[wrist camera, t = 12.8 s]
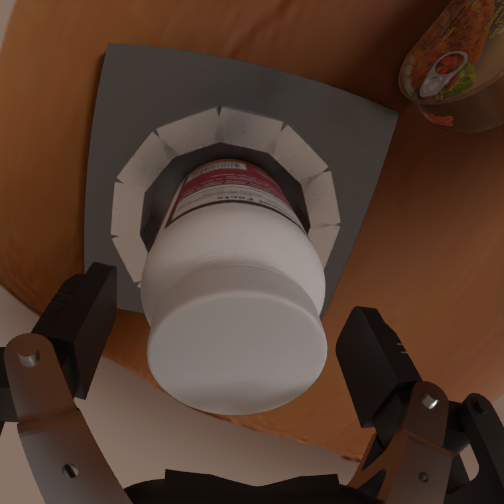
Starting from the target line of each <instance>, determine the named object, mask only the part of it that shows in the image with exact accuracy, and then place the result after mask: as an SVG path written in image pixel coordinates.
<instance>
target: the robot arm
mask: <svg viewBox="0 0 504 504" xmlns="http://www.w3.org/2000/svg"><path fill="white" fill-rule="evenodd" d="M116 311H117V267H116V266H114V265H109V264H104V263H99V262H93V263H92V264H91V266H90V267H89V269H88V270H87V272H86V273H85V275H80V274H75V275H74V276H72V277H71V278H69V279H68V280H66V281H65V282H64V283H63V284H62V286H61V287H60V289H59V290H58V293H57V294H56V295H55V296H54V297H53V299H52V302H50V303H49V305H48V306H47V308H46V309H45V311H44V313H43V314H42V316H41V317H40V319H39V320H38V322H37V323H36V325H35V327H34V328H33V330H32V332H31V333H26V334H22V335H19V336H16V337H15V338H13V339H12V340H11V341H10V342H9V343H8V344H7V345H6V347H0V435H1V432H2V429H3V426H4V423H5V421H6V422H19V423H18V424H17V429H18V433H19V437H20V440H21V443H22V446H23V449H24V452H25V455H26V457H27V460H28V463H29V466H30V468H31V471H32V473H33V476H34V478H35V481H36V483H37V485H38V488H39V490H40V492H41V495H42V497H43V499H44V501H45V503H46V504H504V427H503V425H502V423H501V421H500V419H499V417H498V415H497V413H496V411H495V410H494V408H493V406H492V404H491V403H490V402H489V401H488V400H487V399H486V398H485V397H484V396H482V395H480V394H477V393H471V394H469V395H468V396H467V398H466V399H465V400H464V401H463V402H462V403H458V402H454V401H449V400H448V398H447V396H446V394H445V393H444V391H443V390H442V389H441V388H440V387H438V386H437V385H435V384H433V383H431V382H428V381H422V379H421V377H420V375H419V373H418V371H417V369H416V368H415V366H414V364H413V362H412V360H411V359H410V357H409V355H408V354H406V350H405V348H404V346H403V345H401V344H402V343H401V341H400V339H399V338H398V336H397V334H396V333H395V332H394V331H393V330H392V329H391V328H390V327H389V326H388V325H387V324H386V323H385V322H384V320H383V319H382V317H381V315H380V313H379V312H378V310H377V309H375V308H368V307H360V306H356V307H354V308H353V310H352V311H351V313H350V315H349V317H348V319H347V321H346V323H345V325H344V327H343V329H342V331H341V333H340V335H339V337H338V340H337V343H336V356H337V359H338V361H339V364H340V367H341V370H342V373H343V375H344V378H345V381H346V384H347V387H348V390H349V393H350V396H351V398H352V401H353V404H354V407H355V410H356V413H357V416H358V419H359V422H360V425H361V428H369V427H375V429H376V432H375V433H374V434H373V435H372V437H371V439H370V442H369V444H368V446H367V448H366V451H365V453H364V455H363V457H362V459H361V462H360V464H359V466H358V468H357V470H356V472H355V474H354V476H353V478H352V479H351V481H350V482H349V483H348V484H347V485H346V486H345V485H341V484H339V480H338V475H337V474H329V475H316V476H299V477H296V478H292V479H288V480H285V481H281V482H277V483H273V484H269V485H264V486H257V487H256V486H251V485H247V484H243V483H239V482H235V481H232V480H228V479H224V478H220V477H217V476H214V475H211V474H200V473H191V472H182V471H175V470H168V469H165V479H156V480H150V481H144V482H141V483H137V484H134V485H131V486H129V487H126V488H124V489H123V488H122V487H121V485H120V483H119V482H118V480H117V478H116V477H115V475H114V473H113V472H112V470H111V468H110V466H109V465H108V463H107V461H106V459H105V458H104V456H103V454H102V452H101V451H100V448H99V447H98V445H97V443H96V441H95V439H94V437H93V435H92V433H91V431H90V429H89V427H88V425H87V423H86V421H85V419H84V417H83V415H82V413H81V411H80V409H79V408H77V406H76V404H75V402H74V400H73V399H74V397H77V398H80V399H84V400H86V397H87V393H88V391H89V388H90V385H91V382H92V379H93V377H94V374H95V371H96V368H97V365H98V363H99V360H100V357H101V355H102V352H103V349H104V347H105V344H106V342H107V339H108V336H109V334H110V331H111V329H112V326H113V324H114V321H115V317H116ZM469 444H470V445H471V447H472V449H473V452H474V454H475V456H476V459H477V461H478V464H479V472H478V475H477V476H476V478H474V479H473V480H471V481H470V480H469V478H468V475H467V472H466V470H465V467H464V465H463V462H462V460H461V457H460V455H459V453H460V452H461V451H462V450H463V449H464V448H466V447H467V446H468V445H469Z"/></svg>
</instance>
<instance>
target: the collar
mask: <svg viewBox="0 0 504 504" xmlns="http://www.w3.org/2000/svg"><path fill="white" fill-rule="evenodd" d="M398 116H399V112H396V111H394V110H392V109H389V108H387V107H385V106H382V105H380V104H378V103H375V102H373V101H370V100H368V99H365V98H363V97H360V96H357V95H355V94H352V93H349V92H347V91H344V90H341V89H338V88H335V87H332V86H330V85H327V84H324V83H321V82H317V81H314V80H311V79H308V78H305V77H301V76H298V75H295V74H291V73H288V72H284V71H280V70H277V69H273V68H269V67H265V66H261V65H257V64H253V63H248V62H244V61H240V60H235V59H230V58H225V57H220V56H215V55H209V54H203V53H197V52H191V51H184V50H177V49H169V48H161V47H152V46H141V45H128V44H110V43H108V46H107V50H106V54H105V58H104V63H103V67H102V72H101V77H100V82H99V87H98V93H97V98H96V104H95V110H94V117H93V124H92V131H91V139H90V147H89V157H88V167H87V180H86V195H85V218H84V271H85V273H86V272H87V270H88V269H89V267H90V266H91V264H92V263H93V262H99V263H104V264H109V265H114V266H116V267H117V308H119V309H124V310H128V311H133V312H138V313H143V314H145V313H144V310H143V306H142V301H141V277H142V272H143V268H144V265H145V261H146V258H147V255H148V253H149V250H150V248H151V245H152V243H153V241H154V238H155V236H156V233H157V231H158V229H159V227H160V224H161V222H162V220H163V217H164V215H165V213H166V210H167V208H168V206H169V204H170V201H171V199H172V197H173V195H174V193H175V191H176V189H177V188H178V186H179V185H180V183H181V182H182V181H183V180H184V178H185V177H186V176H187V175H188V174H189V173H191V172H192V171H193V170H195V169H196V168H198V167H199V166H201V165H203V164H205V163H208V162H211V161H215V160H220V159H237V160H243V161H246V162H249V163H252V164H254V165H256V166H258V167H260V168H261V169H263V170H264V171H266V172H267V173H268V174H269V175H270V176H271V177H272V178H273V179H274V180H275V181H276V183H277V184H278V185H279V187H280V188H281V190H282V192H283V194H284V195H285V197H286V199H287V200H288V202H289V204H290V205H291V207H292V209H293V211H294V212H295V214H296V216H297V218H298V219H299V221H300V223H301V225H302V226H303V228H304V230H305V232H306V233H307V235H308V237H309V239H310V240H311V242H312V244H313V246H314V248H315V250H316V252H317V254H318V256H319V259H320V261H321V264H322V267H323V271H324V276H325V298H324V303H323V307H322V310H321V313H320V315H319V318H320V321H321V320H322V318H323V316H324V314H325V311H326V309H327V307H328V305H329V302H330V300H331V298H332V296H333V293H334V291H335V289H336V286H337V284H338V282H339V279H340V277H341V275H342V272H343V270H344V268H345V265H346V263H347V260H348V258H349V255H350V253H351V251H352V248H353V246H354V243H355V241H356V238H357V235H358V233H359V230H360V228H361V225H362V223H363V220H364V217H365V215H366V212H367V209H368V207H369V204H370V201H371V198H372V196H373V193H374V190H375V187H376V184H377V181H378V179H379V176H380V173H381V170H382V167H383V164H384V161H385V158H386V155H387V152H388V149H389V145H390V142H391V139H392V136H393V133H394V129H395V126H396V123H397V119H398Z"/></svg>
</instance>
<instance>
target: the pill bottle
mask: <svg viewBox="0 0 504 504" xmlns="http://www.w3.org/2000/svg"><path fill="white" fill-rule="evenodd" d="M324 298H325V276H324V271H323V267H322V264H321V261H320V259H319V256H318V254H317V252H316V250H315V248H314V246H313V244H312V242H311V240H310V239H309V237H308V235H307V233H306V232H305V230H304V228H303V226H302V225H301V223H300V221H299V219H298V218H297V216H296V214H295V212H294V211H293V209H292V207H291V205H290V204H289V202H288V200H287V199H286V197H285V195H284V194H283V192H282V190H281V188H280V187H279V185H278V184H277V183H276V181H275V180H274V179H273V178H272V177H271V176H270V175H269V174H268V173H267V172H266V171H264V170H263V169H261V168H260V167H258V166H256V165H254V164H252V163H249V162H246V161H243V160H237V159H220V160H215V161H211V162H208V163H205V164H203V165H201V166H199V167H198V168H196V169H195V170H193V171H192V172H191V173H189V174H188V175H187V176H186V177H185V178H184V180H183V181H182V182H181V183H180V185H179V186H178V188H177V189H176V191H175V193H174V195H173V197H172V199H171V201H170V204H169V206H168V208H167V210H166V213H165V215H164V217H163V220H162V222H161V224H160V227H159V229H158V231H157V233H156V236H155V238H154V241H153V243H152V245H151V248H150V250H149V253H148V255H147V258H146V261H145V265H144V268H143V272H142V277H141V301H142V306H143V310H144V313H145V316H146V318H147V321H148V323H149V325H150V326H151V328H150V333H149V338H148V344H147V360H148V365H149V368H150V370H151V373H152V375H153V376H154V378H155V380H156V381H157V382H158V384H159V385H160V386H161V387H162V388H163V389H164V390H165V391H166V392H167V393H169V394H170V395H171V396H172V397H174V398H176V399H177V400H179V401H180V402H182V403H184V404H186V405H188V406H191V407H193V408H196V409H199V410H202V411H206V412H210V413H216V414H225V415H246V414H254V413H259V412H264V411H267V410H271V409H274V408H277V407H279V406H282V405H284V404H286V403H288V402H290V401H292V400H293V399H295V398H297V397H298V396H300V395H301V394H302V393H304V392H305V391H306V390H307V389H308V388H309V387H310V386H311V385H312V384H313V383H314V382H315V380H316V379H317V378H318V376H319V375H320V373H321V371H322V369H323V367H324V364H325V361H326V357H327V342H326V336H325V333H324V330H323V327H322V324H321V321H320V318H319V315H320V313H321V310H322V307H323V303H324Z"/></svg>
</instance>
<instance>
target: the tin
mask: <svg viewBox="0 0 504 504" xmlns="http://www.w3.org/2000/svg"><path fill="white" fill-rule="evenodd" d="M398 83H399V87H400V90H401V92H402V93H403V94H404V96H405V97H407V98H408V99H409V100H411V101H412V102H413V103H414V104H415V106H416V107H417V108H418V109H419V111H420V112H421V113H422V114H423V115H424V117H425V118H426V119H427V120H428V121H429V122H431V123H432V124H433V125H435V126H437V127H438V128H441V129H444V130H447V131H452V132H459V133H469V134H473V133H479V132H484V131H488V130H491V129H494V128H497V127H499V126H501V125H503V124H504V0H451V1H450V3H449V4H448V5H447V7H446V8H445V9H444V10H443V11H442V13H441V14H440V15H439V16H438V17H437V19H436V20H435V21H434V22H433V24H432V25H431V26H430V27H429V28H428V29H427V31H426V32H425V33H424V34H423V36H422V37H421V38H420V39H419V41H418V42H417V43H416V44H415V45H414V47H413V48H412V49H411V50H410V52H409V53H408V55H407V56H406V58H405V59H404V61H403V64H402V66H401V68H400V72H399V77H398Z"/></svg>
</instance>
